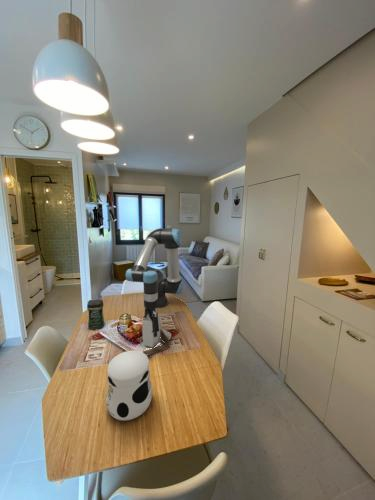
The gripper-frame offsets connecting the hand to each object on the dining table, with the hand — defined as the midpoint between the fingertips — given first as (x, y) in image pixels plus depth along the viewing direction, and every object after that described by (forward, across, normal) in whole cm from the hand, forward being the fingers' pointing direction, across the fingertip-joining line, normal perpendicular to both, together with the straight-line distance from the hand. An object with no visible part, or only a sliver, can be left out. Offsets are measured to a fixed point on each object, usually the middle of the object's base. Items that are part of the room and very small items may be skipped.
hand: (151, 336), depth 116 cm
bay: (+6, 0, 0) cm, 6 cm away
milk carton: (+4, 0, 0) cm, 4 cm away
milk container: (+6, +31, -20) cm, 37 cm away
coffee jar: (+6, -36, -25) cm, 44 cm away
